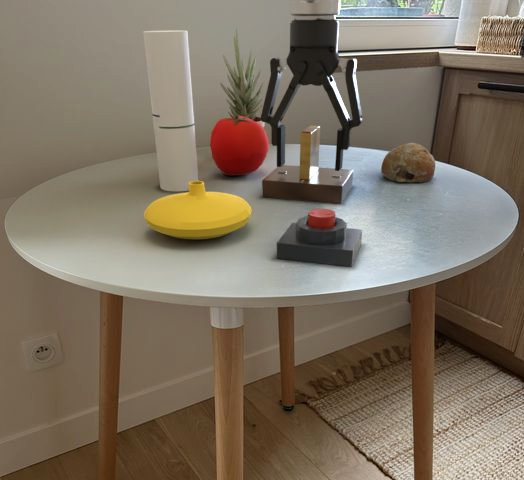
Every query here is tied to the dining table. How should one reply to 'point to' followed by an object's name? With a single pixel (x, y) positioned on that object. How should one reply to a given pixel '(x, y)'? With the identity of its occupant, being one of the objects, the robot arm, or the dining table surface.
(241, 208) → the vase
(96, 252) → the dining table surface
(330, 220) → the red button
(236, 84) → the potted plant
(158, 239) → the dining table surface
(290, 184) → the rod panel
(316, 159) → the upright wooden block
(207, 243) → the dining table surface
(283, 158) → the robot arm
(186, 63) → the cylindrical container
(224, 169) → the tomato
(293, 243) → the button block
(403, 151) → the bread roll
